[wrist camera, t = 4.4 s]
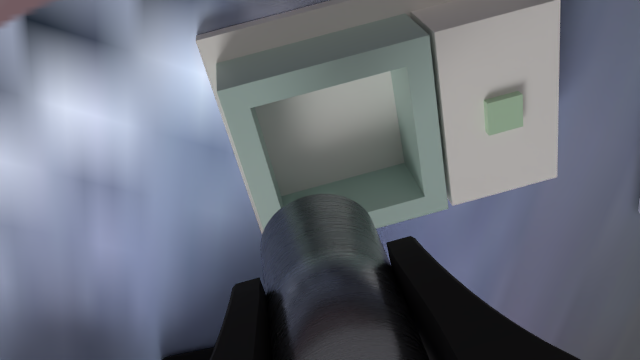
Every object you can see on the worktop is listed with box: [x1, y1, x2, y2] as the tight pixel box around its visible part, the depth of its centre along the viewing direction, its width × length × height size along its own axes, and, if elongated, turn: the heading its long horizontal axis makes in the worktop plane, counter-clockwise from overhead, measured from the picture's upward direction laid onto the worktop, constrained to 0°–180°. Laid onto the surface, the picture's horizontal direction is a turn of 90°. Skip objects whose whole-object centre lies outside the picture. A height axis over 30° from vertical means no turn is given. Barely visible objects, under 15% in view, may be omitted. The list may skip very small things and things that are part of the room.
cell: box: [260, 194, 429, 360], centre depth 12 cm, size 3×3×8 cm
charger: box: [196, 0, 560, 233], centre depth 20 cm, size 11×8×3 cm
